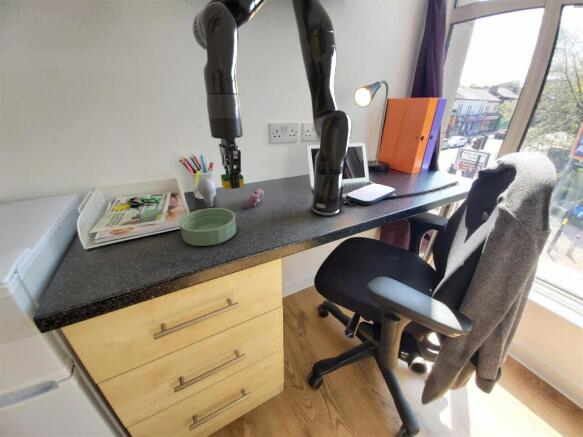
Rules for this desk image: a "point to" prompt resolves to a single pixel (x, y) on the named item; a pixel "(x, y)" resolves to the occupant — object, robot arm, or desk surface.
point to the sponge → (226, 181)
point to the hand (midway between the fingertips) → (233, 185)
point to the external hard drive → (370, 194)
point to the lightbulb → (207, 191)
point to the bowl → (208, 226)
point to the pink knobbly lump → (254, 198)
